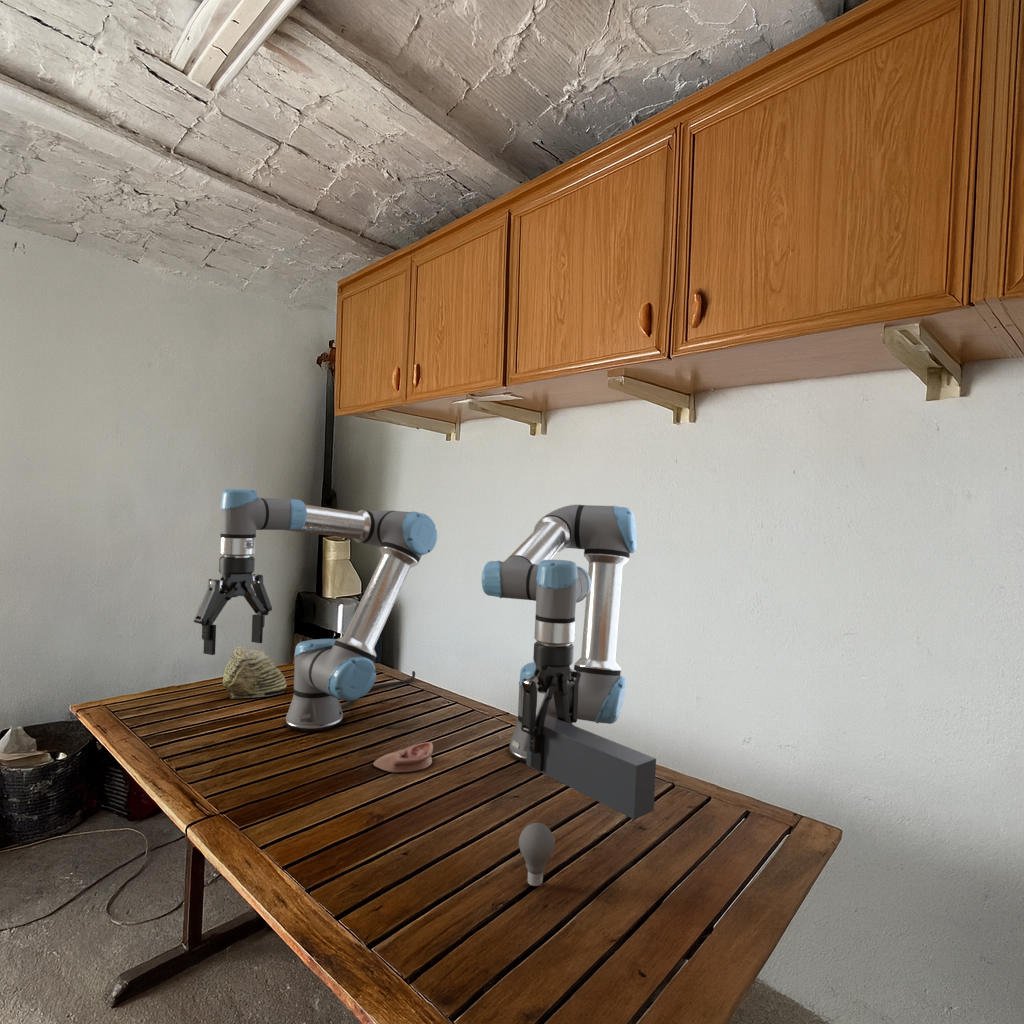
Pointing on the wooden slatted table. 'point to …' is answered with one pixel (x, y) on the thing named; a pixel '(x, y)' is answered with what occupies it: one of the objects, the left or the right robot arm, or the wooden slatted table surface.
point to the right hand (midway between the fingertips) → (548, 764)
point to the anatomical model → (407, 759)
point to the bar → (598, 767)
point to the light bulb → (536, 850)
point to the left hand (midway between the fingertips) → (234, 648)
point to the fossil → (252, 674)
